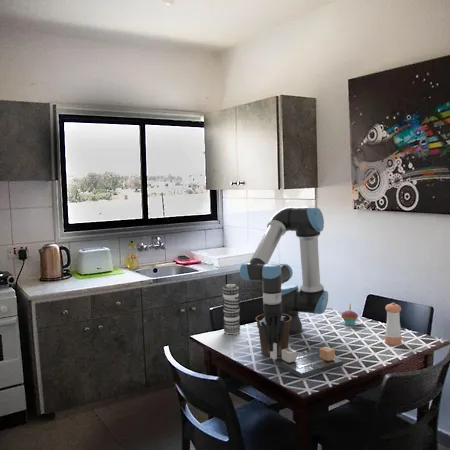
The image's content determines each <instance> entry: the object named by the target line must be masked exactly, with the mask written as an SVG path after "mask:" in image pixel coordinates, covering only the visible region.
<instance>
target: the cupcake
mask: <svg viewBox="0 0 450 450" xmlns="http://www.w3.org/2000/svg"><path fill="white" fill-rule="evenodd" d="M351 305H352V304H351V303H349V307H348V308H349V309H348V310H345V311H343V312H342V313H341V315H340V316H341V319H343V321H344V325H346V326H351V327H352V326H355V324H356V321H357V319H358V318H359V316H358V313H357V312H355V311H353V310H351V309H352V306H351Z"/></svg>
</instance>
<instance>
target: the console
mask: <svg viewBox="0 0 450 450" xmlns="http://www.w3.org/2000/svg"><path fill="white" fill-rule="evenodd" d="M274 365H276V366H277V367H280V368H282V369H284V370H285V371H288V372H290V373H291V374H292V375H295V376H297V377H298V378H301V379H304V378H308V377H311V376H314V375H317V374H320V373H323V372H326V371H330V370H333V369H337V368H339V367H342V366H344V362H343V360H342V359H339V358H337V357H335V359H333V360H330V361H327V360H324V359H322V358H320V349H317V348H314V347H313V348H310V349H307V350H303V351H299V352H297V361H293V362H290V363H289V362H287V361H285V360H283V359H282V356H280V357H277V359H274Z"/></svg>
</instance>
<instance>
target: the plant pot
mask: <svg viewBox="0 0 450 450" xmlns="http://www.w3.org/2000/svg"><path fill="white" fill-rule="evenodd" d="M263 316H264V313H262V314H260V315H257V316H256V317H255V321H256V324H257V325H256V326H257V329H258V335H259V336H258V337H259V342H260V343H259V344H260V351H261V354H263V356H266V357H270V351H269V344H268V343H266V342H264V338H263V334H262V330H261V326H260V324H259V323H258V322H259V321H261V320H262V319H263ZM282 316H284V317H287V319H286V321H285V325H284V331H283V337H282V340H280V341H279V342H280V343H278V350H277V358H280V357H282V350H283V349H285V348H289V343H290V335H289V328H290V322H291V319H292V317H291V316H289V315H287V314H282ZM265 322H266V321H265ZM266 327H267V323H266ZM267 331H268V330H267Z"/></svg>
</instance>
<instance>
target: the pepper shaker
mask: <svg viewBox="0 0 450 450" xmlns="http://www.w3.org/2000/svg"><path fill="white" fill-rule="evenodd" d="M385 311H386V323H385V324H386V325H385V334H384V343H385V344H387V345H388V346H400V345H402V344H403V343H402V334H401V333H402V332H401V331H402V327H401V322H400V312H401V311H402V307H401V305H399V304H397V303H395V302H391V303H389V304H386V305H385Z"/></svg>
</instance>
